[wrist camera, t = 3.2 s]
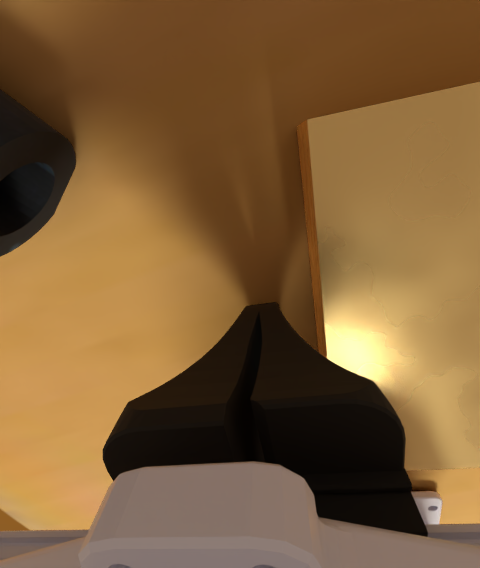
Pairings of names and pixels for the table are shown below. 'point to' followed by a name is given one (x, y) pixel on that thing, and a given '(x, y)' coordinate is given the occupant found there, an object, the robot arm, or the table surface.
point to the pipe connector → (29, 172)
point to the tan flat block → (402, 260)
